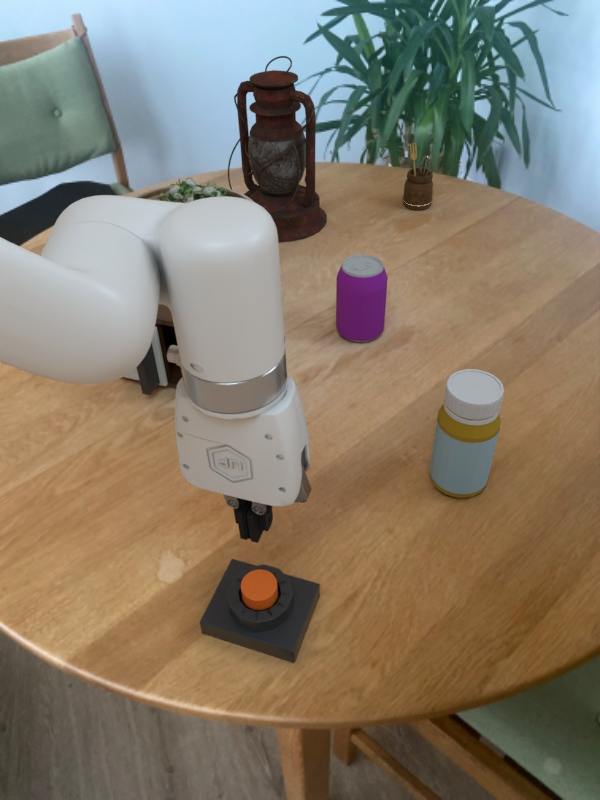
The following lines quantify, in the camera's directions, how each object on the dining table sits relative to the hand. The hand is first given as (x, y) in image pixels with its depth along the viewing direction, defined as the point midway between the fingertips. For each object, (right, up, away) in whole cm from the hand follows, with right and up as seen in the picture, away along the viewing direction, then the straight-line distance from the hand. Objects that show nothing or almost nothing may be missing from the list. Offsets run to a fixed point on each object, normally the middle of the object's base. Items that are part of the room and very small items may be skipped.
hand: (255, 528), depth 61 cm
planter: (-15, +32, +59) cm, 69 cm away
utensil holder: (+29, +53, +81) cm, 101 cm away
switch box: (0, -11, +9) cm, 14 cm away
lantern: (0, +48, +77) cm, 91 cm away
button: (0, -8, +6) cm, 10 cm away
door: (-19, +14, +36) cm, 43 cm away
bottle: (+23, +2, +22) cm, 32 cm away
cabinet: (-14, +17, +41) cm, 46 cm away
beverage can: (+14, +23, +47) cm, 54 cm away
